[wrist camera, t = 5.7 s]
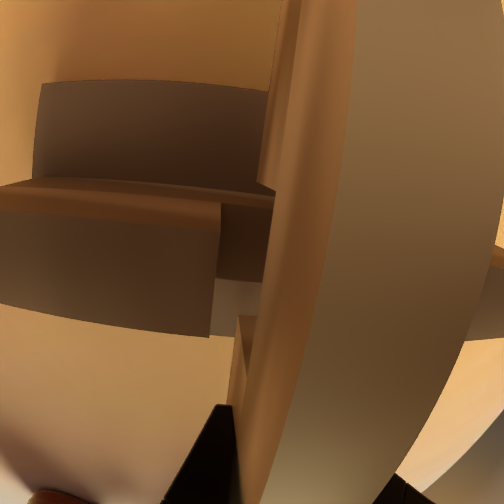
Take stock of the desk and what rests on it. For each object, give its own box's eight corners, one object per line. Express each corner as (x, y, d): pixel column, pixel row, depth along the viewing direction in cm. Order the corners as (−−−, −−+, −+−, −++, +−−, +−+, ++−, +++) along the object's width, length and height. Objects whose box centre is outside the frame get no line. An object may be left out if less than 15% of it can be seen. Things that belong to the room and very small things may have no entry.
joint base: (425, 331, 13) (500, 411, 7) (48, 300, 11) (-31, 391, 5) (471, 154, 11) (584, 174, 5) (52, 86, 8) (-61, 58, 3)
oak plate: (278, 437, 9) (310, 570, 4) (222, 435, 9) (230, 577, 4) (352, 24, 6) (478, -77, 1) (281, 7, 6) (353, -139, 1)
